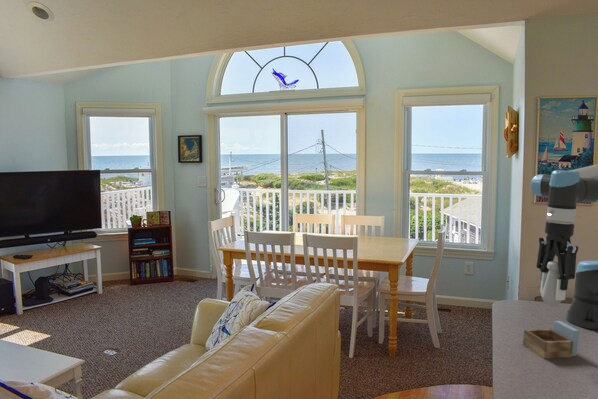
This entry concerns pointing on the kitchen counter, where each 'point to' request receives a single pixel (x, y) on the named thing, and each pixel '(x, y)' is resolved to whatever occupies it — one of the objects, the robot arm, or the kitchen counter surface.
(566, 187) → the robot arm
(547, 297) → the salt shaker
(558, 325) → the pale blue lid slab
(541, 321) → the kitchen counter surface
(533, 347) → the open wooden crate
